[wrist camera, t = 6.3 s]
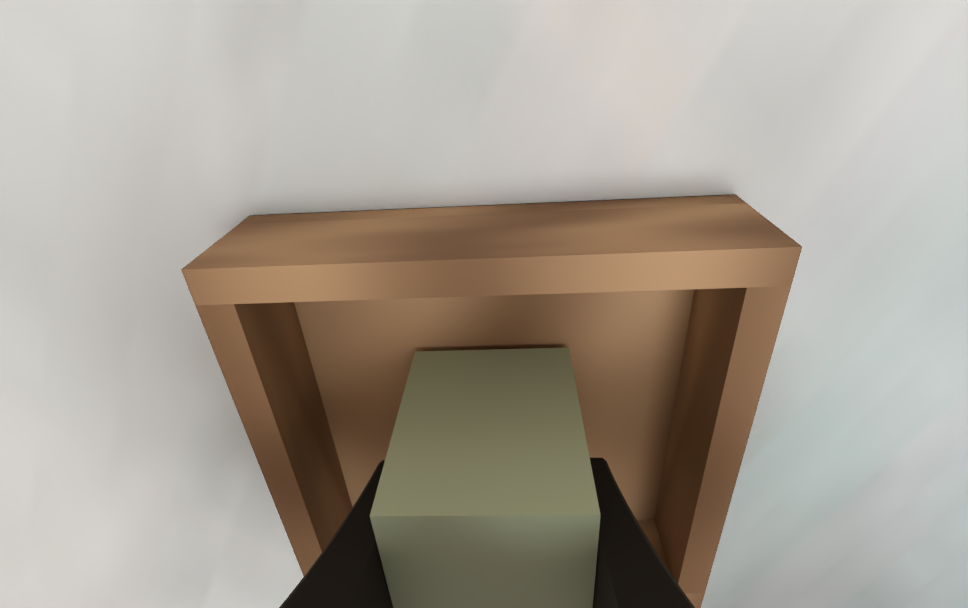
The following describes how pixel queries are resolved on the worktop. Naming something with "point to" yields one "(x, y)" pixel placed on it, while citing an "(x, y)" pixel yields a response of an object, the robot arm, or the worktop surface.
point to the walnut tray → (504, 341)
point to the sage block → (488, 485)
